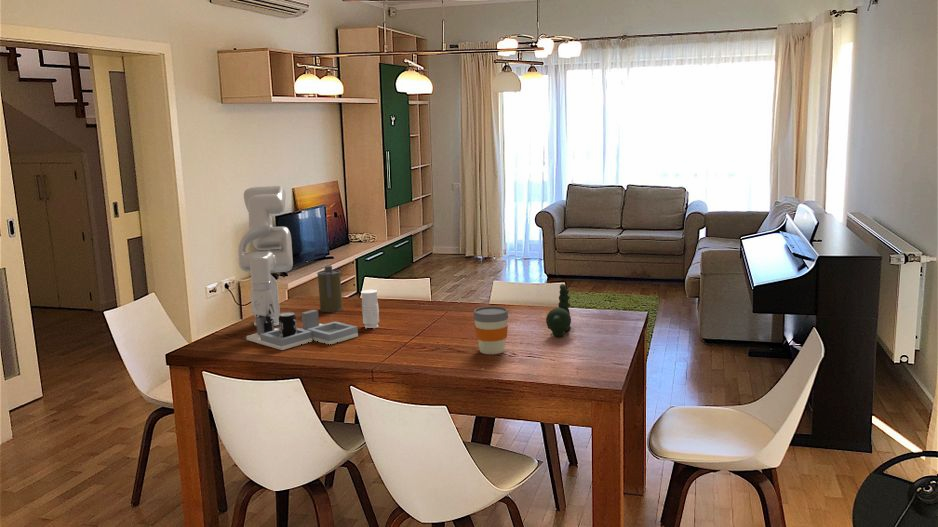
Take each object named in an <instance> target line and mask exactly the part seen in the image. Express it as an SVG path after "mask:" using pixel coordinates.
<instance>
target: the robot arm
mask: <svg viewBox="0 0 938 527" xmlns="http://www.w3.org/2000/svg"><path fill="white" fill-rule="evenodd" d="M286 196H287V195H286V190H285V188H284V187H283V186H281V185H271V186H270V185H269V186H253V187H249V188H246V189H245V190H244V191H243V202H244V205H245V207H246V211H247V212H248V230H247V231H246V232H245V233H244V235H243V236H242V238H241V239H240V241H239V243H238V250H237V251H238V266H239V269H240V271H242V272H250V281H251V295H250V304H251V313H252V314H254V317H255V318H256V317H259V316H264V321H265V323H264V330H265V333H266V332H270V331H272V319H273V321H274V327H277V326H279V316H280V315H279V314H281V310H280V299H279V288H278V287H279V286H278V282H277V279H276V278H275V277H274V276H273V275H272V274H274V273H284V272H289V271H291V270H292V268H293V265H294V261H293V260H294V259H293V247H292V246H293V245H292V244H293V242H292V234H291V232H290V229H289V228H288V227H287V226H274V225H273V218H272V216H271V215H279V214H283V213H284V211H285V208H286V200H287V197H286ZM251 243H253V247H254V248H255V249H256V250H258V251H253V252H246V251H247V248H248V246H249V245H250V244H251ZM267 316H269V317H268V318H267ZM253 325H254V326H255V327H257V325H256V320H255V321H253Z"/></svg>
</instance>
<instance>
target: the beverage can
mask: <svg viewBox="0 0 938 527" xmlns="http://www.w3.org/2000/svg"><path fill="white" fill-rule="evenodd" d="M279 315H280V316H279V325H278V329H279V330H280V337H281V338H284V337H287V336H291V335H295V334H297V328H298V327H297V325H298V324H297V316H296V315H295V312H293V311H284V312H280V314H279Z"/></svg>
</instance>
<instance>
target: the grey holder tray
mask: <svg viewBox="0 0 938 527" xmlns="http://www.w3.org/2000/svg"><path fill="white" fill-rule="evenodd" d="M268 317H269V316H267V318H268ZM255 321H256V325H257V326H256V333H253V334H250V335H246V341H250V342H253V343H257V344H259V345H263V346H267V347H270V348H273V349H277V350H280V351H285V350H287V349H291V348H295V347H298V346H301V344H302V345H304V344H308V342H309V343H311V342H313V340H312V331H308V330H304V329H302V328H300V327H297V334H295V335H291V336H287V337H284V338H281V337H280V330H279V327H277V328H275V326H274V321H273V319H272V331H270V332H266V333H265V330H264V323H265V321H264V316H259V317H255Z"/></svg>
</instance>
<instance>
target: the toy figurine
mask: <svg viewBox="0 0 938 527" xmlns="http://www.w3.org/2000/svg"><path fill="white" fill-rule="evenodd" d="M559 289H560V290H559V296H558V301H559V302H558V304H557V306H558V307H555V308H553V309H551V310H549V312H548V313H547V315H546V316H545V317H546V318H545V323H546V326H547V328H548V329H549V330H550V331H551V332H552V336H553V337H554V338H559V339H560V338H563V337H564V335H565V333H569V332H570V331H571V329H572V326H571V323H572V317H571V312H570V309H569V307H571V304H570V302H569V300H570V299H571V297H570V296H569V292H570V291H569V289H568V288H567V285H566V284H564V283H561V284H560V285H559Z"/></svg>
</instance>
